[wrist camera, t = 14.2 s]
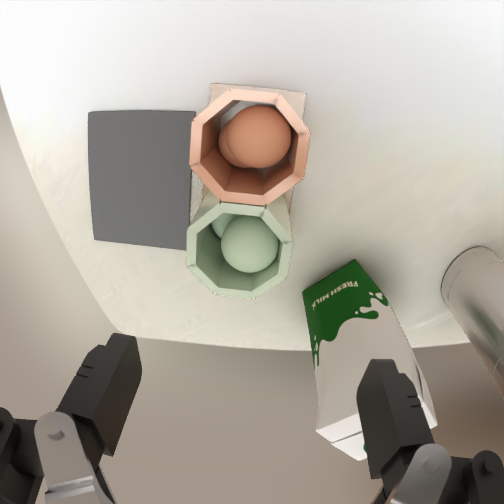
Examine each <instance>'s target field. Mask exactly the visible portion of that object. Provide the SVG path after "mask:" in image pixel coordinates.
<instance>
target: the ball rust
mask: <svg viewBox="0 0 504 504" xmlns="http://www.w3.org/2000/svg"><path fill="white" fill-rule="evenodd" d="M226 138H227V144H228V147H229V150H230V152H231V153H232V155H233V156H234V157H235V158H236V159H237V160H238V161H239V162H241V163H242V164H244V165H246V166H250V167H254V168H264V167H269V166H272V165H274V164H276V163H277V162H279V161H280V160H281V159H282V158H283V157H284V156H285V155H286V153H287V152H288V150H289V147H290V144H291V129H290V126H289V124H288V122H287V120H286V118H285V117H284V116H283V115H282V114H281V113H280V112H279V111H277V110H276V109H274V108H272V107H269V106H265V105H253V106H249V107H246V108H244V109H242V110H241V111H239V112H238V113H237V114H236V115H235V116H234V117H233V118H232V120H231V121H230V123H229V125H228V129H227V134H226Z"/></svg>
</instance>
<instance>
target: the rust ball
mask: <svg viewBox="0 0 504 504" xmlns="http://www.w3.org/2000/svg"><path fill="white" fill-rule="evenodd" d="M231 120H232V119H230V120H229V121H228V122H227V123H226V124H225V125H224V126H223V128H222V129H221V131H220V134H219V140H218V144H219V149H220V152H221V154H222V155H223V157H224V158H225V159H226V160H227V161H228V162H229V163H231V164H232V165H234V166H237V167H241V168H250V166H246V165H244V164H242V163H241V162H239V161H238V160H237V159H236V158H235V157H234V156H233V155H232V153H231V152H230V150H229V147H228V144H227V138H226V134H227V129H228V125H229V123H230V121H231Z"/></svg>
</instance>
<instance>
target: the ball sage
mask: <svg viewBox="0 0 504 504" xmlns="http://www.w3.org/2000/svg"><path fill="white" fill-rule="evenodd" d="M278 248H279V239H278V237H277V236H276V234H275V233H274V232H273V231H272V230H271V229H270V227H269V226H268V225H267V224H266V223H265V221H264V220H263V219H262V218H261V217H259V216H250V215H243V216H240V217H237V218H236V219H234V220H232V221H231V222H230V223H229V224H228V225H227V227H226V228H225V230H224V232H223V234H222V238H221V249H222V253H223V256H224V258H225V259H226V261H227V262H228V263H229V264H230V265H231V266H232V267H234V268H235V269H237V270H239V271H242V272H248V273H252V272H258V271H261V270H263V269H265V268H266V267H268V266H269V265H270V264H271V263H272V262H273V260H274V259H275V257H276V255H277V252H278Z"/></svg>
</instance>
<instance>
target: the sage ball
mask: <svg viewBox="0 0 504 504" xmlns="http://www.w3.org/2000/svg"><path fill="white" fill-rule="evenodd" d="M240 216H243V215H240V214H231V213H222V214H221V215H220V216H218V217H217V218H216V219H215V220H213V221H212V222H211V225H212V228H213V230H214V231H215V233H216V234H217V235H218V236H219V237H220V238H222V234H223V232H224V230H225V228H226V227H227V225H228V224H229V223H230V222H231V221H232V220H234V219H236V218H237V217H240Z"/></svg>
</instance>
